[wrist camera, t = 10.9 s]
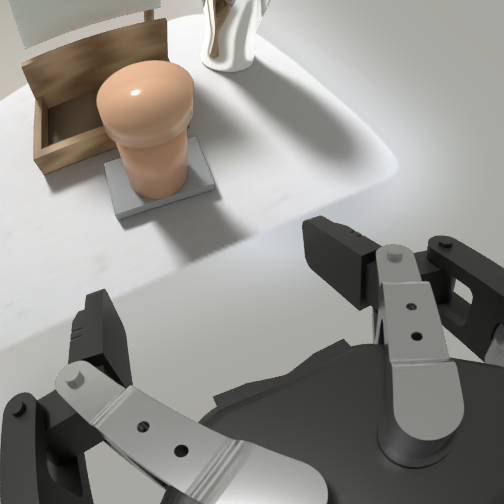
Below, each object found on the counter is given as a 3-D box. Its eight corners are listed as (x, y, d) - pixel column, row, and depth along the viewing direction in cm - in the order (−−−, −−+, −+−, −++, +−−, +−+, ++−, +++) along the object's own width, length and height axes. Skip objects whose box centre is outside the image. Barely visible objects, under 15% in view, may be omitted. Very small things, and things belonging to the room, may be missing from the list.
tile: (117, 220, 23) (114, 214, 22) (106, 169, 24) (104, 163, 23) (214, 189, 25) (214, 183, 24) (195, 143, 26) (195, 136, 25)
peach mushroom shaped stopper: (132, 214, 22) (102, 138, 14) (118, 156, 24) (92, 76, 15) (203, 190, 24) (206, 108, 15) (182, 137, 25) (179, 52, 17)
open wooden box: (43, 174, 23) (-12, 85, 12) (44, 86, 27) (16, 8, 16) (189, 127, 27) (191, 18, 16) (159, 50, 30) (157, -35, 19)
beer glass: (259, 46, 33) (285, -59, 19) (254, 79, 30) (285, -44, 16) (202, 38, 32) (213, -69, 18) (189, 71, 29) (197, -55, 15)
